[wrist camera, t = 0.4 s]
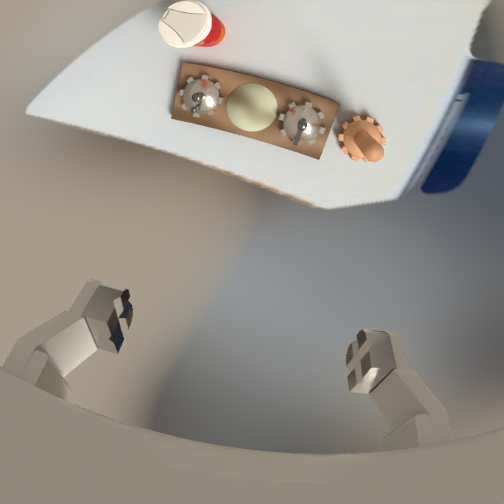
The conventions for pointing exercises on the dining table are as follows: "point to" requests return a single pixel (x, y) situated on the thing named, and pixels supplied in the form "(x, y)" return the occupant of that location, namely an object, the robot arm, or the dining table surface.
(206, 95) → the gear
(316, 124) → the gear
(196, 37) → the paper cup
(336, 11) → the dining table surface
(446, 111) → the dining table surface
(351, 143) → the idler gear
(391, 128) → the dining table surface
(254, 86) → the gear board
